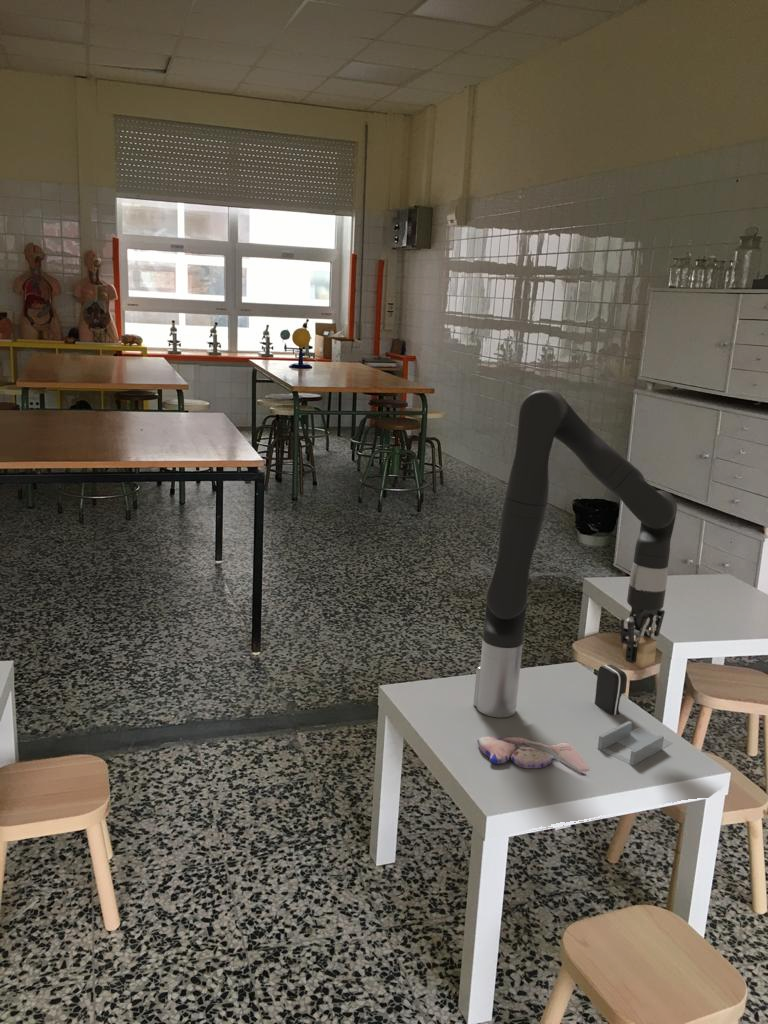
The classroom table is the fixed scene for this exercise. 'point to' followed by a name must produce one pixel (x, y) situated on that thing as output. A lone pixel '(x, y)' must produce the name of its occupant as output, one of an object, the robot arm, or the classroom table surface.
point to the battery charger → (610, 688)
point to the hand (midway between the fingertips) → (637, 658)
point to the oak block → (643, 651)
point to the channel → (632, 742)
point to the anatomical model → (530, 753)
